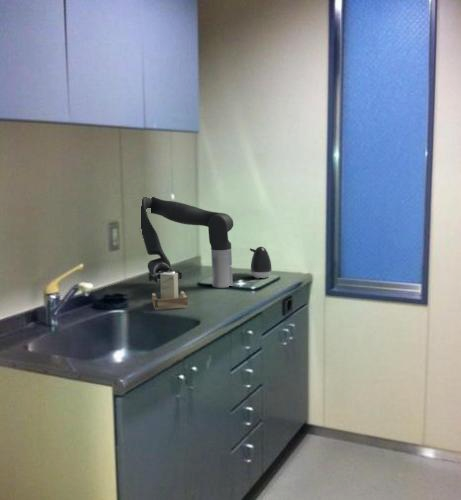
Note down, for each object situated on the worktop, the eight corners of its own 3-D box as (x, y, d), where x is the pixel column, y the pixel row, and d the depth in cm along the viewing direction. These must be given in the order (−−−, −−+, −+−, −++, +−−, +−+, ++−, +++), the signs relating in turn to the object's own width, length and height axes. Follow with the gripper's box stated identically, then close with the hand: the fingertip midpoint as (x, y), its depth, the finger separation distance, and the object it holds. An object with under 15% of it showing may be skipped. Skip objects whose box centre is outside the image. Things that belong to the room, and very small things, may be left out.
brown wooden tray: (152, 302, 264) (152, 293, 263) (183, 300, 266) (183, 290, 265) (155, 310, 251) (154, 300, 250) (187, 307, 253) (187, 297, 253)
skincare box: (160, 303, 258) (159, 274, 256) (165, 300, 262) (164, 271, 260) (174, 304, 255) (173, 274, 253) (179, 301, 259) (178, 272, 258)
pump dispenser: (251, 275, 313) (250, 245, 311) (272, 275, 312) (271, 244, 310) (249, 279, 303) (248, 248, 301) (271, 279, 302) (270, 248, 300)
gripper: (146, 265, 280) (149, 271, 264) (178, 262, 283) (183, 269, 267) (147, 281, 281) (150, 289, 266) (179, 279, 284) (184, 286, 269)
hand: (166, 279), depth 267 cm, fingers open, 8 cm apart
